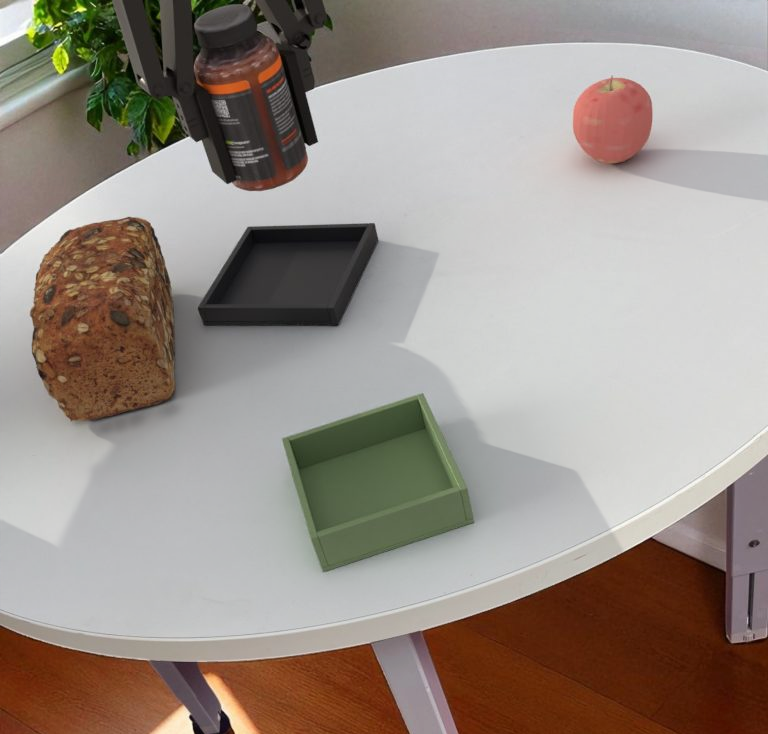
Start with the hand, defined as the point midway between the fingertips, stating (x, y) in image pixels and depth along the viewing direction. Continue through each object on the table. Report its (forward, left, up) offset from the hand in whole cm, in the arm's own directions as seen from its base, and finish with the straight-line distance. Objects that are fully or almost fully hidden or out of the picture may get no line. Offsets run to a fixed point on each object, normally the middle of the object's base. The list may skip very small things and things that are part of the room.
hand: (265, 156), depth 77 cm
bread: (-20, +1, -19) cm, 28 cm away
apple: (+20, +32, -19) cm, 42 cm away
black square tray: (-7, +12, -19) cm, 23 cm away
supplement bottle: (0, 0, -2) cm, 2 cm away
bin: (+9, -15, -19) cm, 26 cm away
